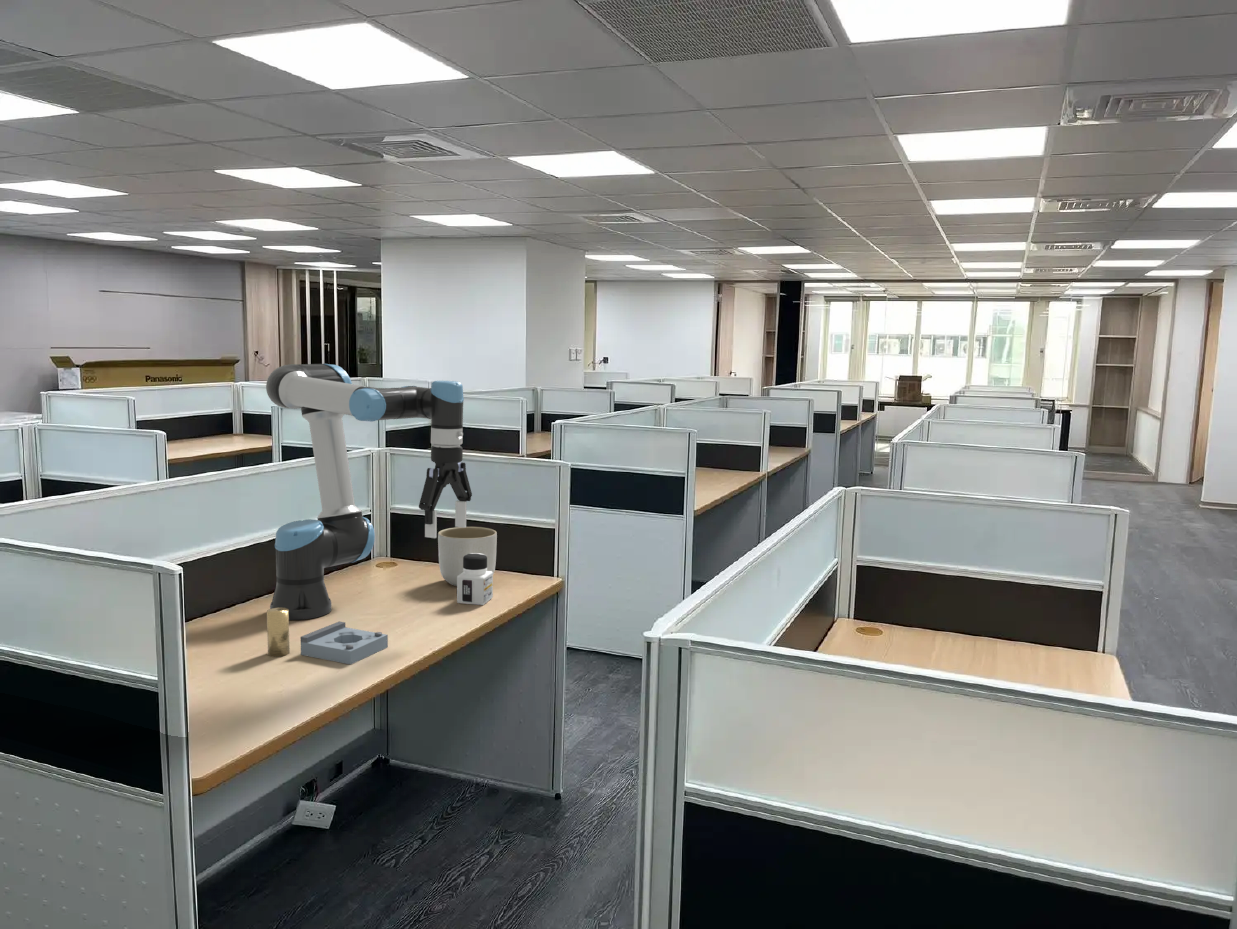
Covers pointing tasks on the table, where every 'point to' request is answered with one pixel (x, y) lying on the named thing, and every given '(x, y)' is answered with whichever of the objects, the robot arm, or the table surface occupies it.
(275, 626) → the brass cylinder
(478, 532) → the planter
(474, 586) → the container
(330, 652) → the jig
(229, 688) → the table surface
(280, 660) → the table surface
